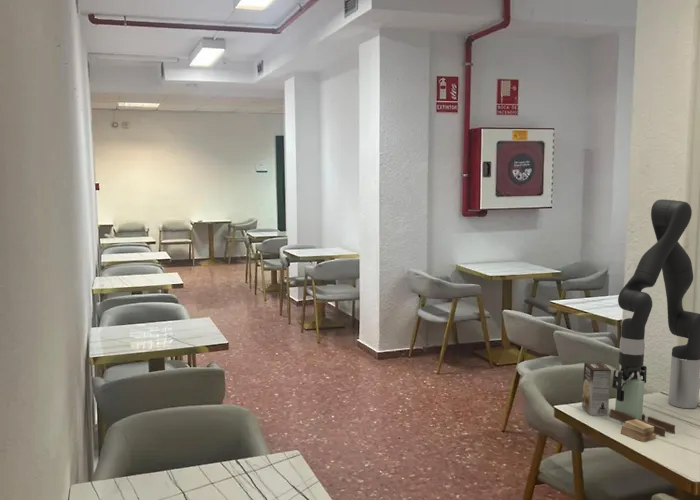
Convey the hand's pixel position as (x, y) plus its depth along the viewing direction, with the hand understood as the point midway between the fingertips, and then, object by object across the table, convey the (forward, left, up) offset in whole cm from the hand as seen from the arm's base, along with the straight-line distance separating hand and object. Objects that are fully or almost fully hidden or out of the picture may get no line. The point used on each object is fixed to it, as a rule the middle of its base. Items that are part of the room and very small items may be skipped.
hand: (628, 398), depth 219 cm
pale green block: (0, 0, -7) cm, 7 cm away
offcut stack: (+9, +10, -7) cm, 16 cm away
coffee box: (+3, -10, -7) cm, 13 cm away
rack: (0, +5, -7) cm, 9 cm away
